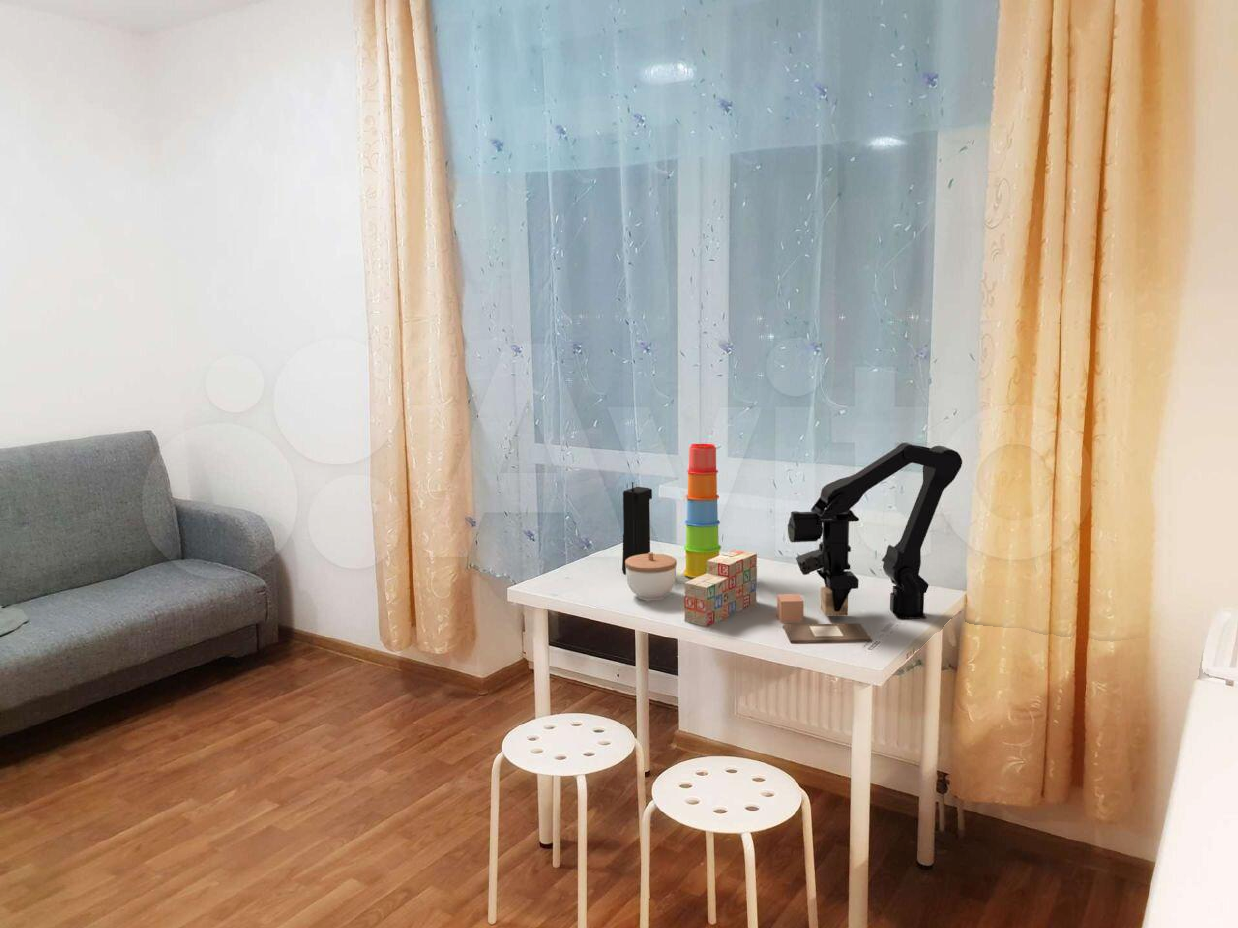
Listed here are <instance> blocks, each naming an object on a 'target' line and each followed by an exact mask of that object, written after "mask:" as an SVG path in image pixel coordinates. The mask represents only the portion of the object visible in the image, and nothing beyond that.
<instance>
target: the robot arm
mask: <svg viewBox="0 0 1238 928" xmlns="http://www.w3.org/2000/svg"><path fill="white" fill-rule="evenodd" d="M910 464H916V465H921V466H922V484H921V486H920V489H919V492H918V493H917V497H916V499H915V502H914V505H913V507H912V511H910V512H911V513H910V515H909V518H908V520H907V523H906V525H905V528H904V530H903V533H902V535H901V538H900V540H899V541H898V543H896V544H895V546H893V545H891V544H888V546H887V548H886V551H885V552H886V553H885V555H884V556H883V558H882V559H881V562H883V565H882V566H883V567H882V568H883V572H884V573H885V575H886V576H887V577H888V578H889V579H890V582H891V583H892V584H893V586H892V592H890V594H889V610H890V612H891V613H892V614H893V615H894V616H895V617H896V618H897V619H926V617H927V616H926V614H925V613H924V611H925V610H924V609H925V608H924V606H925V594H926V593H927V591H928V588H929V583H928V582H927V581H926V580H925V579H924V578H923V577H921V576H920V575H919V574H920V569H921V564H922V561H921V560H922V559H921V558H922V554H921V553H922V552H921V549H922V546H923V545H924V541H925V539H926V536H927V533H928V530H929V528H930V525H931V524H932V520H933V518H934V516H935V513H936V511H937V508H938V506H939V504H940V500H941V497H942V496H943V493H944V491H945V489H946V488H947V487H948V486H949V485H950V484H952V482H953V481H954V480H955V478H956V477H957V475H958V474H959V472H960V470H961V468H962V465H963V459H962V457H961V455H960V453H959V452H958V451H956V450H953V449H952V448H949V447H947V446H943V445H935V446H932V447H927V446H923V445H918V444H911V443H909V442H901V443H900V444H898V445H897V446H896V447H895V448H894V449H892V450H891V451H889V452H887V453H885V454H883V455H882V456H881V457H880V458H878V459H876V460H875V461H873V462H872V463H870V464H869V465H867V466H865V467H864V468H863V469H861V470H859V471H858V472H856V473H854V474H852V475H850V476H846V477H842V478H839V479H837V480H834V481H831V482H829V483H828V484H825V486H823V487H822V488H821V492H820V496H819V498H818V499H817V500H816V502H815V504H814V505H813V506H812V507H811V508H810V511H797V510H796V511H795V510H794V511H791V512H790V517H789V520H788V524H787V535H788V539H789V541H790V542H791V543H809V542H811V543H812V542H818V540H821V538H822V541H821V542H820V543H819V544H818V549H816V550H811V551H808V552H806V553H803V554H801V555H797V556H796V557H795V560H796V564H797V565H798V568H799V570H800V572H801V574H802V575H804V576H806V575H809V574H810V573H813V572H815V571H816V573H817V575H818V576H820V577H821V579H822V580H823V582H824V585H825V587H828V588H830V589H831V593H832V600H833V606H834V611H840V609H841V607H842V605H843V603H844V602H845V600H846V598H847V596H848V597H849V594H850V592H851V591H852V590H854V589H859V578H858V577H857V576H856V575H855V574H854V573H853V572H852V571H851V564H850V563H849V553H851V552H852V547H851V545H850V544H849V543H850V542H849V541H850V522H859V520H860V518H859V517H858V516H856V515H855V513H854V512H853V510H852V508H854V506H855V505H856V504H857V503H858V502H860V500H861V499H862V497H863V496H864V494H865V493H867V492H868V491H869V490H870V489H872V488H873V487H875V486H877V485H879V484H880V483H881V482H883V481H884V480H887V478H889V477H891V476H893V475H894V474H895V473H897V472H899V471H900V470H902V469H903V468H905V467H906V466H908V465H910ZM849 570H850V571H849Z"/></svg>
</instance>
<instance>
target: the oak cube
mask: <svg viewBox="0 0 1238 928" xmlns="http://www.w3.org/2000/svg"><path fill="white" fill-rule="evenodd" d="M820 609H821V611H822V612H823V615H824V616H825V617H829V616H831V617H832V616H848V615H849V613H848V612H849V595H848V596H847V598H846V600H845V602H844V603H843V605H842V607H841V609H840V611H834V606H833V600H832V593H831V589H830V588H828V587H824V586H823V587H820Z"/></svg>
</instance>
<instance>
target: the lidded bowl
mask: <svg viewBox="0 0 1238 928" xmlns="http://www.w3.org/2000/svg"><path fill="white" fill-rule="evenodd" d="M677 563H678V562H677V559H676V558H675V557H673V556H671V555H669V554H663V553H654V552H653V551H650V552H649V553H648V554H640V555H635V556H631V557H629V558H627V559H626V560H625V566H626V574H625V577H626V581H627V585H628V587H629V589H630V591H631V592H632V593H633V594H635V596H636V598H637V599H638V600H642V601H647V602H648V601H650V602H653V601H660V600H663V599H665V598H666V597H667V595H668V594H669V593H670V592H671V591H672V589H673V588H674V585H675V582H676V579H677V578H676V577H677Z"/></svg>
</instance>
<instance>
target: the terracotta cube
mask: <svg viewBox="0 0 1238 928" xmlns="http://www.w3.org/2000/svg"><path fill="white" fill-rule="evenodd" d="M776 597H777V600H776V601H777V603H776V605H777V607H776V608H777V609H776V616H777V618H778V619H779V622H780V623H785V624H787V623H804V600H803V598H802V596H801V594H800V593H790V594H789V593H788V594H787V593H785V594H784V593H783V594H777V596H776Z"/></svg>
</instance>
